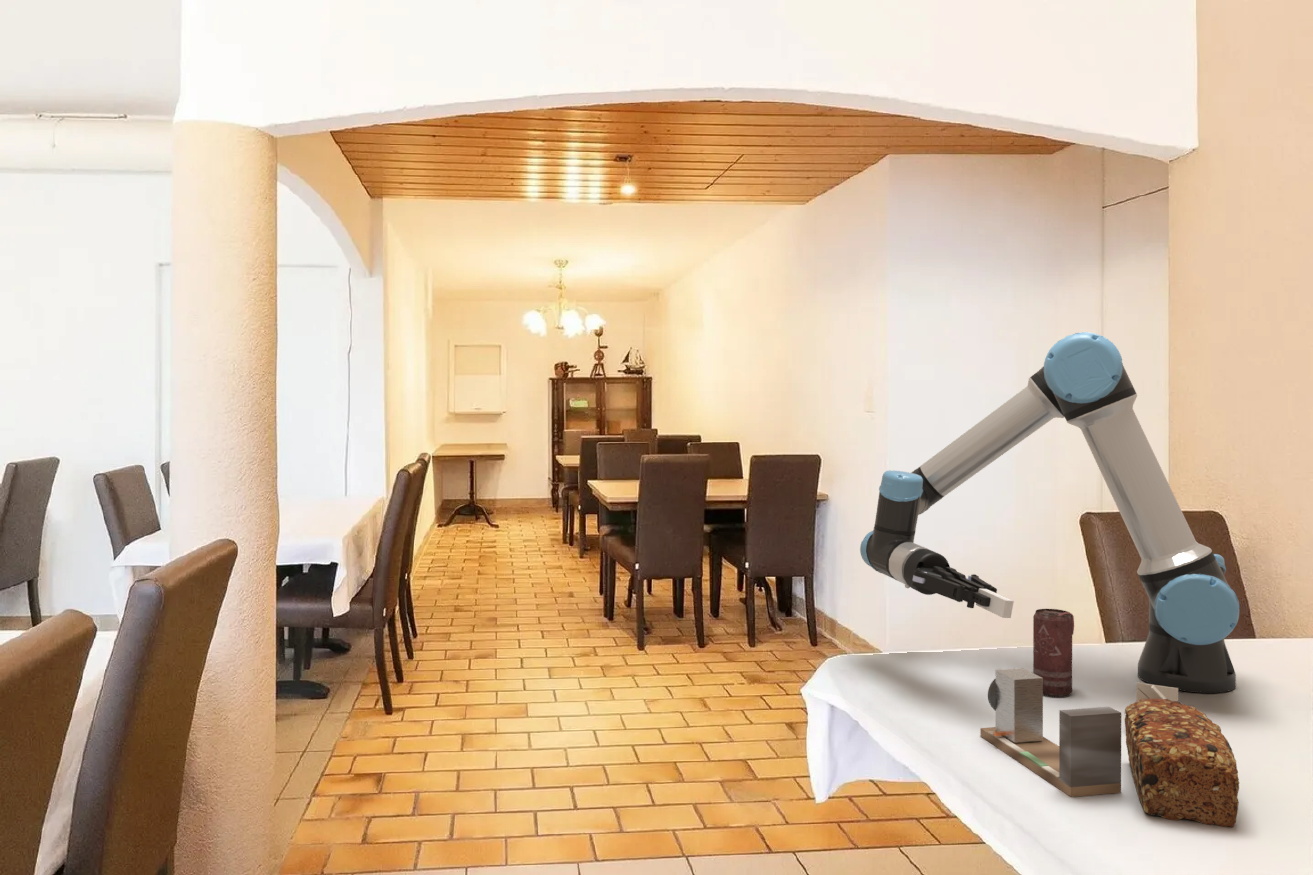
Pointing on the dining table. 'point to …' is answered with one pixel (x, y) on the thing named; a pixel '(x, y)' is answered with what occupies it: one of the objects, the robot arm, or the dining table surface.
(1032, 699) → the brushed steel block
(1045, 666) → the can
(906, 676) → the dining table surface
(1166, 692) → the architectural model
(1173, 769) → the bread
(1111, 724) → the gauge body
